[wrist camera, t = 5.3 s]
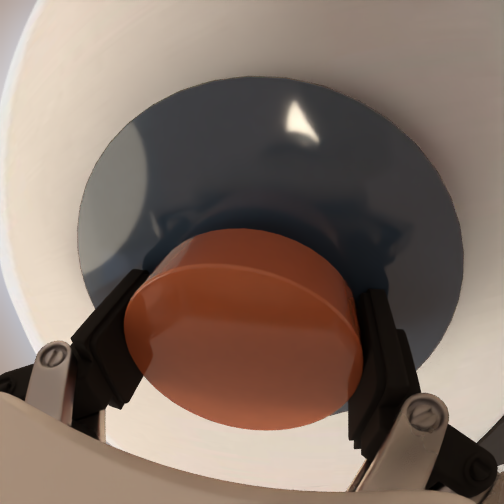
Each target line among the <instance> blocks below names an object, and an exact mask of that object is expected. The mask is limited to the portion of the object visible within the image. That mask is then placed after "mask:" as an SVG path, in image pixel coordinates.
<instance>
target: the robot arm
mask: <svg viewBox="0 0 504 504" xmlns="http://www.w3.org/2000/svg"><path fill="white" fill-rule="evenodd" d="M149 275H150V273H149V272H148V271H147V270H140V269H132V270H131V271H130V272H129V273H128V274H127V275H126V276H125V277H124V278H123V279H122V281H121V282H120V283H119V284H118V285H117V286H116V287H115V288H114V289H113V290H112V291H111V292H110V294H109V295H108V296H107V297H106V298H105V299H104V300H103V301H102V302H101V304H100V305H99V306H98V307H97V308H96V309H95V310H94V311H93V313H92V314H91V315H90V316H89V317H88V318H87V319H86V321H85V322H84V323H83V324H82V325H81V326H80V328H79V329H78V330H77V331H76V332H75V334H74V335H73V336H72V337H71V340H72V342H73V343H72V344H71V346H70V345H69V344H67V343H66V342H64V341H54V342H50V343H48V344H46V345H45V346H44V347H42V348H41V350H40V351H39V352H38V354H37V356H36V359H35V363H34V364H31V365H28V366H25V367H22V368H19V369H15V370H12V371H9V372H6V373H4V374H2V375H0V504H504V471H503V472H501V473H499V472H498V471H497V470H498V467H497V462H496V460H495V458H494V456H493V455H492V454H491V453H490V452H489V451H487V450H486V449H484V448H483V447H481V446H480V445H478V444H477V443H475V442H474V441H472V440H471V439H470V438H468V437H467V436H465V435H464V434H462V433H461V432H459V431H458V430H456V429H455V428H454V427H452V426H451V425H449V424H448V421H449V413H448V408H447V407H446V405H445V403H444V402H443V401H442V400H441V399H440V398H439V397H437V396H435V395H433V394H429V393H421V390H420V385H419V381H418V377H417V373H416V369H415V365H414V361H413V357H412V353H411V350H410V346H409V342H408V339H407V335H406V333H405V331H404V330H403V329H396V326H395V323H394V319H393V316H392V312H391V309H390V305H389V302H388V299H387V295H386V292H385V290H384V289H367V292H366V293H361V296H360V300H359V305H358V309H357V313H358V319H359V325H360V332H361V340H362V348H363V356H364V368H363V373H362V377H361V380H360V383H359V385H358V387H357V389H356V391H355V393H354V394H353V395H352V397H351V398H350V399H349V400H348V437H349V440H354V449H361V455H362V456H364V457H365V458H366V460H365V461H364V463H363V465H362V466H361V468H360V470H359V471H358V473H357V475H356V476H355V478H354V479H353V481H352V483H351V484H350V486H349V487H348V489H347V490H346V492H317V491H298V490H285V489H275V488H267V487H259V486H252V485H246V484H240V483H234V482H229V481H224V480H219V479H214V478H209V477H205V476H201V475H197V474H193V473H189V472H185V471H182V470H178V469H175V468H171V467H168V466H165V465H161V464H158V463H155V462H152V461H149V460H146V459H144V458H141V457H138V456H135V455H133V454H130V453H127V452H125V451H122V450H120V449H117V448H115V447H112V446H110V445H107V444H106V435H105V409H106V407H107V405H108V404H109V406H112V407H115V408H117V409H120V410H121V409H122V407H123V405H124V404H125V403H128V402H129V401H130V399H131V397H132V396H133V394H134V392H135V390H136V388H137V387H138V385H139V383H140V381H141V379H142V378H143V376H144V375H143V374H142V373H141V372H140V370H139V369H138V367H137V366H136V364H135V363H134V361H133V359H132V357H131V355H130V353H129V350H128V347H127V344H126V341H125V335H124V317H125V312H126V308H127V306H128V303H129V301H130V299H131V298H132V296H133V295H134V293H135V292H136V290H137V289H138V288H139V287H140V286H141V284H142V283H143V282H144V281H145V280H146V278H147V277H148V276H149Z"/></svg>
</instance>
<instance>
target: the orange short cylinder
mask: <svg viewBox="0 0 504 504" xmlns="http://www.w3.org/2000/svg"><path fill="white" fill-rule="evenodd" d="M124 335H125V341H126V344H127V347H128V350H129V353H130V355H131V357H132V359H133V361H134V363H135V364H136V366H137V367H138V369H139V370H140V372H141V373H142V374H143V375H144V377H145V378H146V379H147V380H148V381H149V382H150V383H151V384H152V385H153V386H154V387H155V388H156V389H157V390H158V391H159V392H161V393H162V394H163V395H164V396H166V397H167V398H168V399H170V400H171V401H172V402H174V403H176V404H177V405H179V406H180V407H182V408H184V409H186V410H188V411H189V412H191V413H193V414H196V415H198V416H200V417H203V418H205V419H208V420H210V421H213V422H216V423H220V424H223V425H227V426H231V427H237V428H242V429H250V430H283V429H291V428H296V427H301V426H305V425H308V424H311V423H314V422H317V421H319V420H321V419H324V418H325V417H327V416H329V415H331V414H333V413H334V412H335V411H337V410H338V409H340V408H341V407H342V406H343V405H344V404H345V403H346V402H347V401H348V400H349V399H350V398H351V397H352V395H353V394H354V393H355V391H356V389H357V387H358V385H359V383H360V380H361V377H362V373H363V368H364V356H363V348H362V340H361V332H360V325H359V319H358V313H357V307H356V303H355V300H354V297H353V294H352V292H351V290H350V288H349V287H348V285H347V283H346V281H345V280H344V278H343V277H342V276H341V275H340V273H339V272H338V271H337V270H336V269H335V268H334V267H333V266H332V265H331V264H330V263H329V262H328V261H327V260H326V259H325V258H323V257H322V256H320V255H319V254H318V253H316V252H315V251H313V250H312V249H311V248H309V247H307V246H305V245H303V244H301V243H299V242H297V241H295V240H293V239H290V238H287V237H285V236H282V235H279V234H275V233H271V232H267V231H263V230H254V229H246V228H241V229H222V230H215V231H210V232H207V233H203V234H200V235H197V236H195V237H192V238H190V239H188V240H186V241H184V242H183V243H181V244H180V245H178V246H177V247H175V248H174V249H173V250H172V251H171V252H169V253H168V254H167V255H166V256H165V257H164V259H163V260H162V261H161V262H160V263H159V264H158V266H157V267H156V268H155V269H154V270H153V271H152V273H151V274H150V275H149V276H148V277H147V278H146V280H145V281H144V282H143V283H142V284H141V286H140V287H139V288H138V289H137V290H136V292H135V293H134V295H133V296H132V298H131V299H130V301H129V303H128V306H127V308H126V312H125V317H124Z"/></svg>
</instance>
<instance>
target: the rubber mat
mask: <svg viewBox="0 0 504 504" xmlns="http://www.w3.org/2000/svg"><path fill="white" fill-rule="evenodd" d="M477 444H478V445H480V446H481V447H483V448H484V449H486V450H487V451H489V452H490V453H491V454H492V455H493V456H494V458H495V460H496V462H497V466H499V465H502V464H504V416H503V417H502V419H501V420H500V421H499V422H498V423H497V424H496V425H495V426H494V427H493V428H492V429H491V430H490V431H489V432H488V433H487V434H486V435H485V436H484V437H483V438H482V439H481V440H480V441H479V442H478V443H477Z"/></svg>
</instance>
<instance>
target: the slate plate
mask: <svg viewBox="0 0 504 504" xmlns="http://www.w3.org/2000/svg"><path fill="white" fill-rule="evenodd" d="M241 228H246V229H254V230H263V231H267V232H271V233H275V234H279V235H282V236H285V237H287V238H290V239H293V240H295V241H297V242H299V243H301V244H303V245H305V246H307V247H309V248H311V249H312V250H313V251H315V252H316V253H318V254H319V255H320V256H322V257H323V258H325V259H326V260H327V261H328V262H329V263H330V264H331V265H332V266H333V267H334V268H335V269H336V270H337V271H338V272H339V273H340V275H341V276H342V277H343V278H344V280H345V281H346V283H347V285H348V287H349V288H350V290H351V292H352V294H353V297H354V300H355V303H356V307H357V309H358V305H359V300H360V296H361V293H366V292H367V289H384V290H385V292H386V295H387V299H388V302H389V305H390V309H391V312H392V316H393V319H394V323H395V326H396V329H403V330H404V331H405V333H406V335H407V339H408V342H409V346H410V350H411V353H412V357H413V361H414V365H415V369H416V370H417V369H418V368H419V367H420V366H421V365H422V364H423V363H424V362H425V361H426V360H427V359H428V358H429V356H430V355H431V354H432V352H433V351H434V350H435V348H436V347H437V345H438V344H439V343H440V341H441V340H442V338H443V336H444V334H445V332H446V330H447V328H448V326H449V325H450V323H451V320H452V318H453V315H454V312H455V309H456V306H457V304H458V301H459V296H460V291H461V286H462V280H463V263H464V251H463V243H462V236H461V229H460V224H459V220H458V217H457V214H456V211H455V208H454V205H453V202H452V199H451V196H450V194H449V193H448V191H447V189H446V187H445V185H444V183H443V181H442V179H441V177H440V175H439V174H438V172H437V170H436V169H435V167H434V166H433V165H432V163H431V162H430V161H429V159H428V158H427V157H426V156H425V154H424V153H423V152H422V150H421V149H420V148H419V147H418V145H417V144H416V143H415V142H414V141H413V140H412V139H411V138H409V137H408V136H407V135H406V134H405V133H404V132H403V131H402V130H401V129H400V128H398V127H397V126H396V125H395V124H394V123H393V122H392V121H390V120H389V119H388V118H386V117H385V116H383V115H381V114H380V113H378V112H377V111H375V110H374V109H372V108H370V107H369V106H367V105H366V104H364V103H362V102H361V101H359V100H357V99H354V98H352V97H350V96H347V95H345V94H343V93H340V92H338V91H335V90H333V89H330V88H328V87H325V86H322V85H318V84H313V83H309V82H305V81H300V80H295V79H290V78H283V77H264V76H244V77H235V78H228V79H220V80H214V81H210V82H206V83H203V84H200V85H196V86H193V87H190V88H187V89H184V90H181V91H179V92H177V93H175V94H173V95H171V96H169V97H167V98H165V99H163V100H161V101H159V102H157V103H155V104H153V105H152V106H150V107H149V108H147V109H146V110H145V111H143V112H142V113H141V114H139V115H138V116H137V117H135V118H134V119H133V120H132V121H130V122H129V123H128V124H127V125H126V126H125V127H124V128H123V129H122V130H121V131H120V132H119V133H118V134H117V135H116V137H115V138H114V139H113V140H112V141H111V142H110V143H109V145H108V146H107V148H106V149H105V151H104V152H103V154H102V155H101V157H100V158H99V160H98V161H97V163H96V164H95V167H94V169H93V171H92V173H91V175H90V177H89V180H88V182H87V184H86V187H85V190H84V194H83V197H82V201H81V205H80V210H79V218H78V226H77V242H78V255H79V261H80V268H81V272H82V275H83V279H84V282H85V286H86V289H87V291H88V294H89V296H90V299H91V301H92V303H93V306H94V308H95V309H96V308H97V307H98V306H99V305H100V304H101V302H102V301H103V300H104V299H105V298H106V297H107V296H108V295H109V294H110V292H111V291H112V290H113V289H114V288H115V287H116V286H117V285H118V284H119V283H120V282H121V281H122V279H123V278H124V277H125V276H126V275H127V274H128V273H129V272H130V271H131V270H132V269H140V270H147V271H148V272H149V273H150V274H151V273H152V271H153V270H154V269H155V268H156V267H157V266H158V264H159V263H160V262H161V261H162V260H163V259H164V257H165V256H166V255H167V254H168V253H169V252H171V251H172V250H173V249H174V248H175V247H177V246H178V245H180V244H181V243H183V242H184V241H186V240H188V239H190V238H192V237H195V236H197V235H200V234H203V233H207V232H210V231H215V230H222V229H241ZM345 411H348V401H347V402H346V403H345V404H344V405H343V406H342V407H341V408H340V409H338V410H337V411H335V412H334V413H333V414H331V415H334V414H338V413H342V412H345ZM331 415H329V416H331Z"/></svg>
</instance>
